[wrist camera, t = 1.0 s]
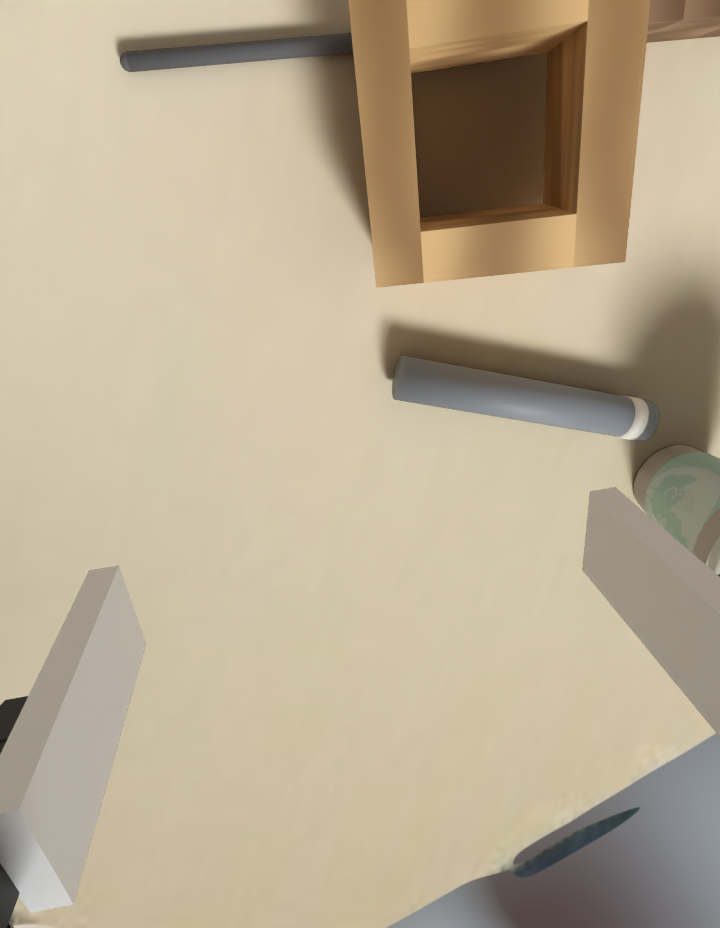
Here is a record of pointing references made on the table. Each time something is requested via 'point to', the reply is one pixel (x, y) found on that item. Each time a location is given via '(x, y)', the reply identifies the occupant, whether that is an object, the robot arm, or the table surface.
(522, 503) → the table surface
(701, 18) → the bead dark
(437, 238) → the light wooden square box
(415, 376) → the gray tube
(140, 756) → the table surface
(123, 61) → the grey long thin rod
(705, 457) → the coffee cup
